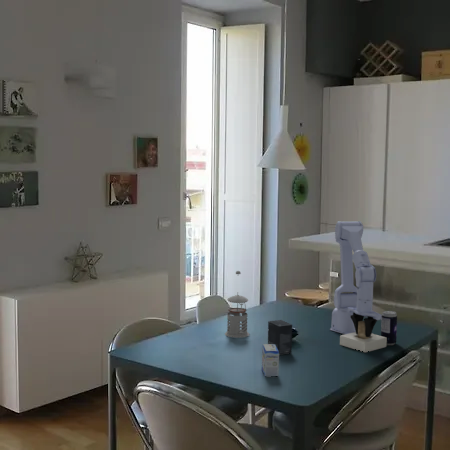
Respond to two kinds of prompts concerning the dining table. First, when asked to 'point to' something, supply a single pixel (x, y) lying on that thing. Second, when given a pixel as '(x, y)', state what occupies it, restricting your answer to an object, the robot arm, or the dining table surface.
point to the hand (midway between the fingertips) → (363, 335)
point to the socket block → (363, 342)
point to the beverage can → (389, 326)
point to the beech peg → (361, 330)
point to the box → (280, 336)
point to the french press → (237, 317)
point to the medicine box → (270, 360)
